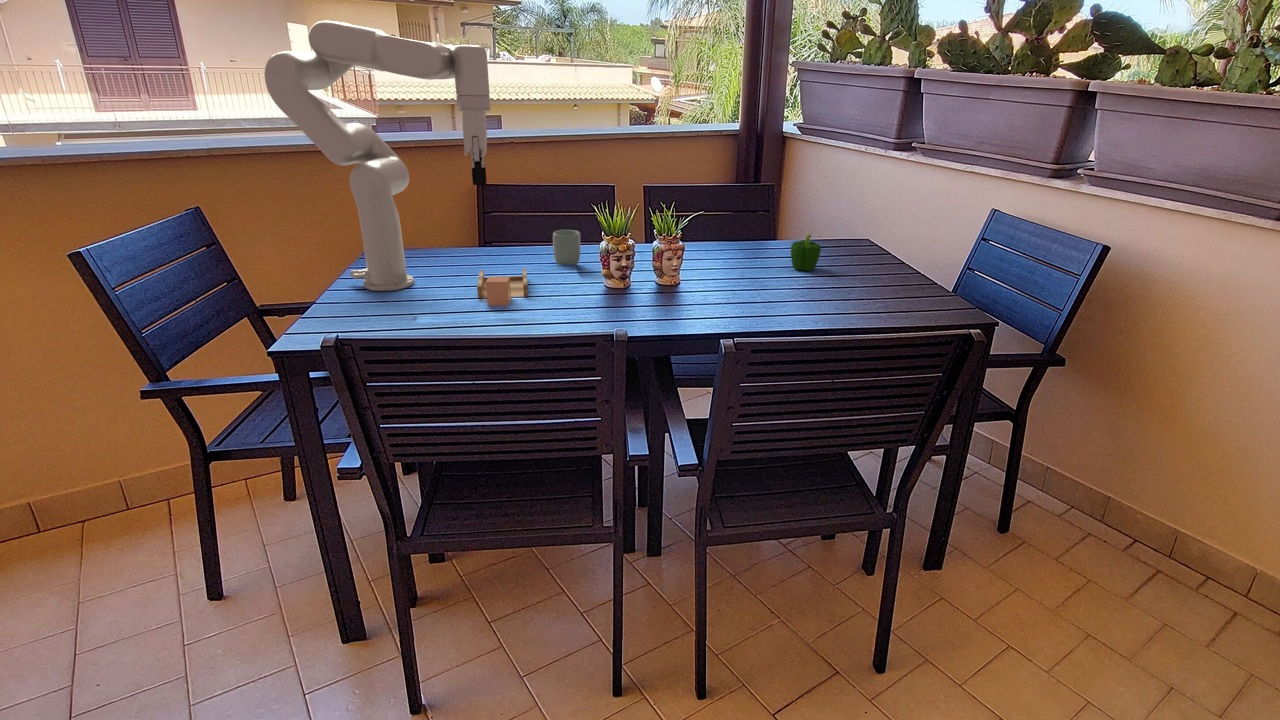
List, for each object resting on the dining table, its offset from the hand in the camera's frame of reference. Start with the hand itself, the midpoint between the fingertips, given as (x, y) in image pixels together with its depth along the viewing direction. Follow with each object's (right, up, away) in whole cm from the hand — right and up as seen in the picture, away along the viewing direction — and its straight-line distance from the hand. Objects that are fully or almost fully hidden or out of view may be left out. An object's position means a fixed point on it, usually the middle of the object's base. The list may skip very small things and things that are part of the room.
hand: (479, 184), depth 159 cm
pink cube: (+5, -29, -2) cm, 30 cm away
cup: (+18, -16, +33) cm, 40 cm away
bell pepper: (+88, -16, +34) cm, 95 cm away
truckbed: (+4, -26, +8) cm, 28 cm away
